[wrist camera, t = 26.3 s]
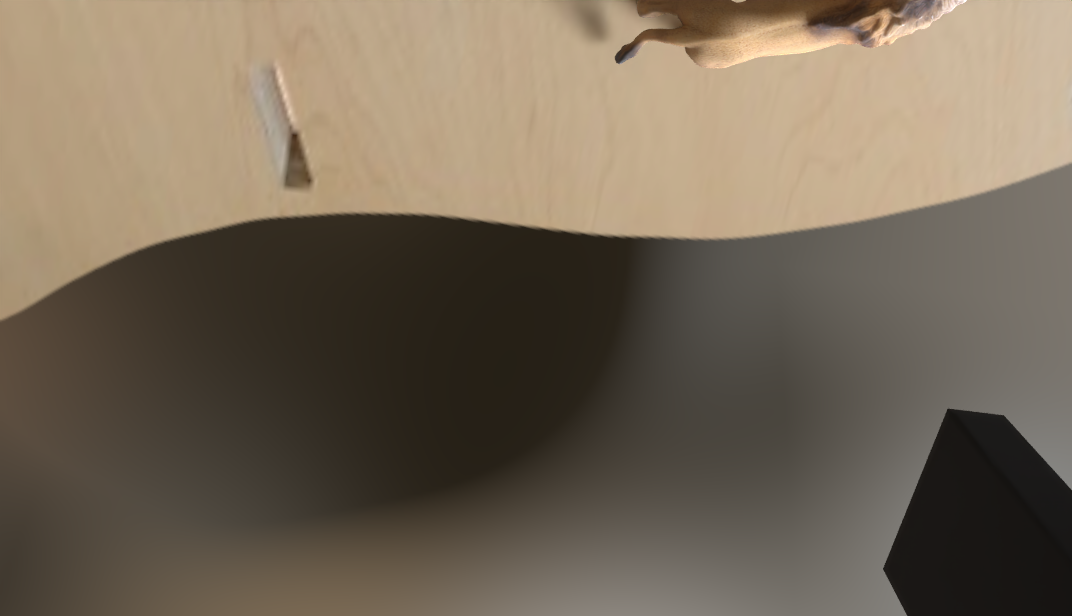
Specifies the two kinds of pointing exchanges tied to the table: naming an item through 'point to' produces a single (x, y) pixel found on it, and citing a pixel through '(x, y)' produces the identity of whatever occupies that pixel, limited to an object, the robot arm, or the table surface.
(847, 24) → the lion figurine
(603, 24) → the table surface
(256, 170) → the table surface
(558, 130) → the table surface
